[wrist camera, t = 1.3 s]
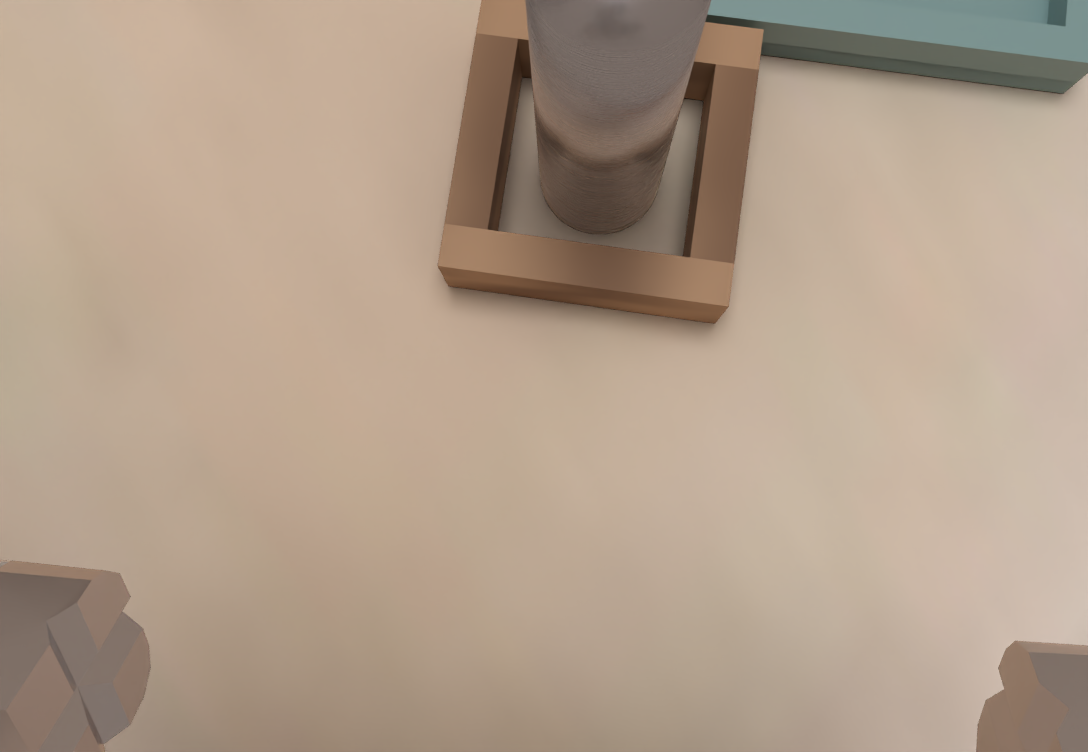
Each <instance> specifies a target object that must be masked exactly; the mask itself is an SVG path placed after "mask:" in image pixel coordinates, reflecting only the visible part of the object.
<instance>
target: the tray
mask: <svg viewBox="0 0 1088 752" xmlns="http://www.w3.org/2000/svg"><path fill="white" fill-rule="evenodd" d="M705 22H710V23H717V24H725V25H733V26H741V27H749V28H757V29H764V32H763V39H762V47H761V55H768V56H776V57H784V58H792V59H799V60H807V61H815V62H823V63H830V64H838V65H846V66H854V67H862V68H869V69H877V70H885V71H893V72H900V73H908V74H916V75H924V76H931V77H939V78H947V79H955V80H962V81H970V82H978V83H986V84H994V85H1001V86H1009V87H1017V88H1025V89H1032V90H1040V91H1048V92H1056V93H1065V92H1066V91H1067V90H1068V89H1069V88H1071V87H1072V86H1073V85H1074V84H1075V83H1077V82H1078V81H1079V80H1080V79H1081V78H1083V77H1084V76H1085V75H1086V74H1087V73H1088V0H711V3H710V7H709V10H708V14H707V18H706V21H705Z"/></svg>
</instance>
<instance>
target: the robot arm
mask: <svg viewBox="0 0 1088 752" xmlns="http://www.w3.org/2000/svg"><path fill="white" fill-rule="evenodd" d="M130 597H131V596H130V594H129V592H128V590H127V588H126V585H125V583H124V581H123V579H122V577H121V575H120V573H116V572H111V571H104V570H95V569H86V568H76V567H67V566H58V565H48V564H39V563H29V562H20V561H7V560H0V752H105V748H104V743H106V742H107V741H109V740H110V739H111V738H113V737H114V736H115V735H117V734H118V733H120V732H121V731H122V730H124V729H125V728H126V727H128V726H129V725H130V724H131V722H132V720H133V718H134V716H135V714H136V712H137V710H138V708H139V706H140V704H141V702H142V700H143V698H144V694H145V690H146V686H147V681H148V677H149V672H150V668H151V666H150V651H149V644H148V641H147V638H146V636H145V633H144V630H143V628H142V627H141V626H140V625H138V624H137V623H136V622H135V621H133V620H132V619H131V618H130V617H128V616H127V615H126V614H125V613H124V612H122V611H123V609H124V607H125V606H126V604H127V602H128V601H129V599H130ZM998 669H999V673H1000V676H1001V680H1002V683H1003V686H1004V690H1002V691H1000V692H999V693H997V694H995V695H994V696H992V697H990V698H989V699H987V700H986V701H985V704H984V707H983V710H982V713H981V716H980V719H979V723H978V729H977V746H976V752H1088V646H1087V645H1072V644H1056V643H1041V642H1026V641H1014V642H1013V643H1012V644H1011V645H1010V646H1009V647H1008V648H1006V650H1005V652H1004V655H1003V657H1002V660H1001V662H1000V665H999V667H998Z"/></svg>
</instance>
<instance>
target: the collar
mask: <svg viewBox="0 0 1088 752" xmlns="http://www.w3.org/2000/svg"><path fill="white" fill-rule="evenodd" d="M763 32H764V29H757V28H749V27H741V26H733V25H725V24H717V23H710V22H705V25H704V28H703V32H702V35H701V39H700V42H699V46H698V49H697V53H696V56H695V60H694V64H693V67H692V71H691V74H690V78H689V81H688V85H687V88H686V92H685V95H684V98H689V99H696V100H704V102H703V110H702V117H701V125H700V132H699V140H698V147H697V155H696V162H695V170H694V177H693V185H692V192H691V199H690V207H689V214H688V222H687V229H686V237H685V244H684V252H683V256H675V255H668V254H661V253H654V252H646V251H639V250H632V249H625V248H617V247H610V246H603V245H596V244H588V243H581V242H574V241H567V240H559V239H552V238H545V237H538V236H530V235H523V234H516V233H509V232H501V231H498V226H499V219H500V213H501V207H502V200H503V194H504V188H505V181H506V175H507V169H508V163H509V156H510V150H511V144H512V137H513V131H514V125H515V118H516V112H517V106H518V99H519V93H520V87H521V81H522V77H528V78H532V75H531V63H530V51H529V39H528V27H527V16H526V4H525V0H482V1H481V7H480V13H479V19H478V25H477V31H476V37H475V43H474V49H473V55H472V61H471V67H470V73H469V79H468V85H467V91H466V97H465V103H464V109H463V115H462V121H461V127H460V133H459V139H458V145H457V152H456V158H455V164H454V170H453V176H452V182H451V188H450V194H449V200H448V206H447V212H446V218H445V224H444V230H443V236H442V242H441V248H440V254H439V260H438V268H439V269H440V271H441V273H442V275H443V277H444V279H445V281H446V282H447V284H448V286H452V287H459V288H466V289H473V290H481V291H488V292H495V293H502V294H509V295H516V296H523V297H530V298H537V299H544V300H552V301H559V302H566V303H573V304H580V305H587V306H594V307H601V308H608V309H616V310H623V311H630V312H637V313H644V314H651V315H658V316H665V317H672V318H680V319H687V320H694V321H701V322H708V323H716V322H717V320H718V319H719V318H720V317H721V315H722V314H723V313H724V312H725V310H726V309H727V308H728V307H729V300H730V292H731V284H732V276H733V268H734V261H735V253H736V245H737V237H738V229H739V221H740V213H741V205H742V197H743V189H744V182H745V174H746V166H747V158H748V150H749V142H750V134H751V126H752V118H753V111H754V103H755V95H756V87H757V79H758V71H759V63H760V55H761V47H762V39H763Z"/></svg>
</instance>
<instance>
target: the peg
mask: <svg viewBox="0 0 1088 752" xmlns="http://www.w3.org/2000/svg"><path fill="white" fill-rule="evenodd" d="M710 3H711V0H525V4H526V16H527V27H528V39H529V51H530V63H531V75H532V87H533V98H534V110H535V122H536V134H537V146H538V158H539V170H540V181H541V188H542V192H543V195H544V198H545V200H546V202H547V204H548V206H549V207H550V209H551V210H552V211H553V213H554V214H555V215H556V216H557V217H558V218H559V219H560V220H561V221H563V222H564V223H566V224H567V225H569V226H570V227H572V228H574V229H577V230H579V231H582V232H586V233H591V234H608V233H613V232H617V231H620V230H623V229H625V228H627V227H629V226H631V225H633V224H634V223H636V222H637V221H638V220H639V219H640V218H642V217H643V216H644V214H645V213H646V212H647V211H648V210H649V208H650V207H651V205H652V203H653V201H654V199H655V197H656V194H657V191H658V188H659V184H660V181H661V177H662V173H663V170H664V166H665V163H666V159H667V156H668V152H669V149H670V145H671V142H672V138H673V134H674V131H675V127H676V124H677V120H678V117H679V113H680V110H681V106H682V103H683V99H684V95H685V92H686V88H687V85H688V81H689V78H690V74H691V71H692V67H693V64H694V60H695V56H696V53H697V49H698V46H699V42H700V39H701V35H702V32H703V28H704V25H705V21H706V18H707V14H708V10H709V7H710Z"/></svg>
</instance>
